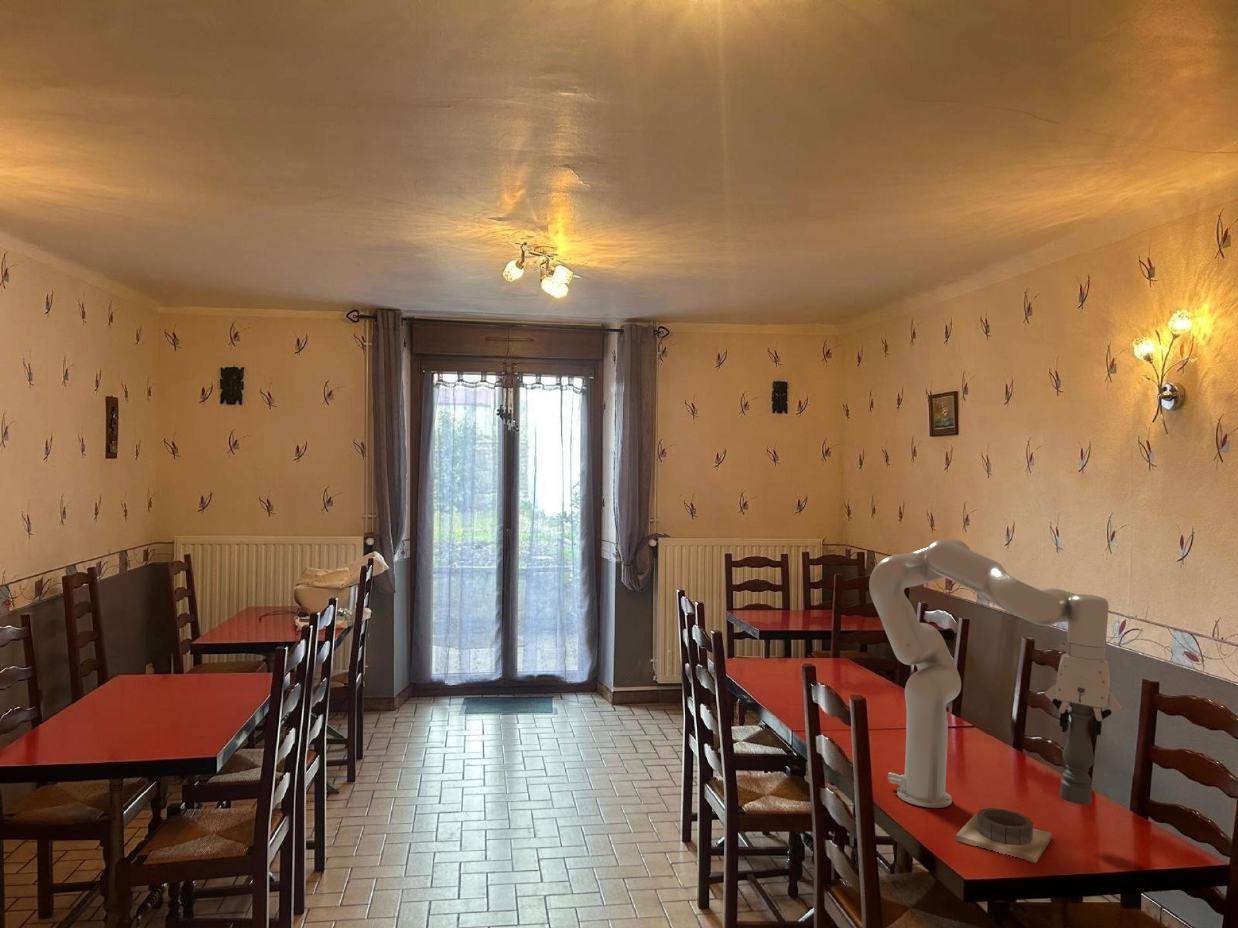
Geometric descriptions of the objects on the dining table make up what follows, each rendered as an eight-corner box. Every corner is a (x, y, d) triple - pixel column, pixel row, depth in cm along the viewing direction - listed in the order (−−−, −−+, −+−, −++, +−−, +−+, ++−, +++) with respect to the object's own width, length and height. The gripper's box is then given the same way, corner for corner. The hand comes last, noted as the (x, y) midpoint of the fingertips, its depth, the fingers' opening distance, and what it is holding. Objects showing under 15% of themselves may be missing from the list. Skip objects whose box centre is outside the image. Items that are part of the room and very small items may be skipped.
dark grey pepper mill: (1063, 790, 194) (1070, 680, 194) (1093, 798, 190) (1101, 686, 190) (1056, 798, 189) (1064, 684, 189) (1087, 806, 185) (1096, 691, 185)
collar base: (955, 840, 187) (956, 818, 187) (975, 818, 200) (976, 797, 200) (1036, 863, 178) (1037, 840, 178) (1051, 838, 191) (1052, 817, 191)
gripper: (1039, 646, 191) (1033, 728, 192) (1128, 662, 181) (1122, 747, 181) (1046, 642, 197) (1040, 721, 198) (1132, 656, 187) (1126, 739, 188)
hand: (1079, 733), depth 190 cm, fingers closed on dark grey pepper mill, 5 cm apart
